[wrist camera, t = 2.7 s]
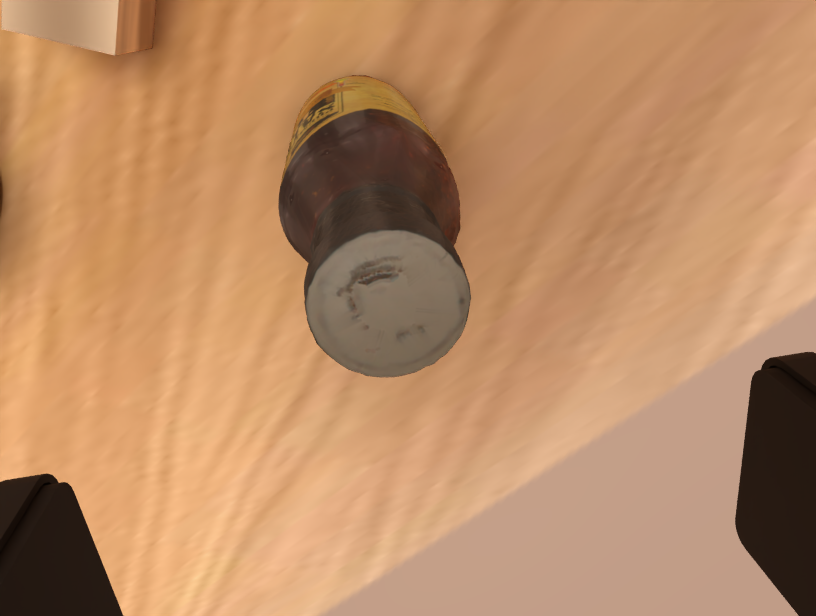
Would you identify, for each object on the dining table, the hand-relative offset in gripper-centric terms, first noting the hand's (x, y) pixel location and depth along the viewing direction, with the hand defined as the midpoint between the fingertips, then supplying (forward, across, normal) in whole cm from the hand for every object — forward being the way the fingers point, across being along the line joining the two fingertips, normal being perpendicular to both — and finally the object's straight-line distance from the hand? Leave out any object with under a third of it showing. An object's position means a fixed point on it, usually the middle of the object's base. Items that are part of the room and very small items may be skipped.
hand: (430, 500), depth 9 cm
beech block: (+27, +10, -8) cm, 30 cm away
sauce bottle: (+27, 0, 0) cm, 27 cm away
